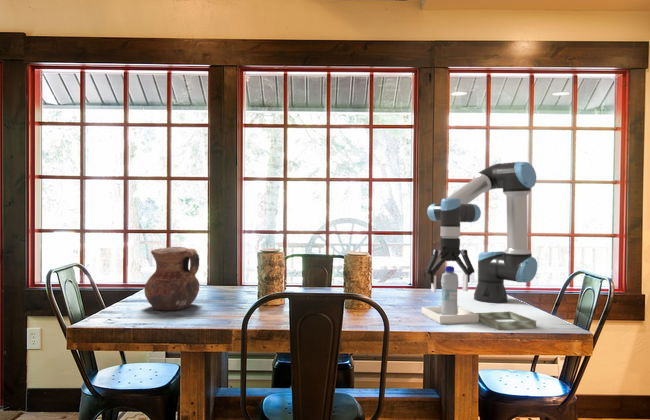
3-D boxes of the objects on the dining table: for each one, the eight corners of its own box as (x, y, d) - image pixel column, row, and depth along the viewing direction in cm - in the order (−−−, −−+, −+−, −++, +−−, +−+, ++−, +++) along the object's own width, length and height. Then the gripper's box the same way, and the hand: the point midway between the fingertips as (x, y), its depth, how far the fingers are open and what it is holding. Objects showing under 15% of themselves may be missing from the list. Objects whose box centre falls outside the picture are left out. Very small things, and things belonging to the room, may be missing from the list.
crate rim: (509, 317, 182) (510, 311, 182) (536, 327, 166) (536, 320, 166) (474, 319, 178) (474, 312, 178) (498, 329, 163) (498, 322, 163)
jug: (139, 313, 180) (140, 250, 180) (148, 303, 201) (149, 246, 201) (197, 311, 185) (198, 250, 185) (200, 301, 205) (201, 246, 205)
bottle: (449, 319, 175) (450, 267, 175) (436, 315, 180) (437, 265, 180) (461, 317, 178) (462, 266, 178) (448, 314, 184) (449, 264, 184)
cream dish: (457, 312, 189) (457, 305, 189) (478, 322, 173) (478, 314, 173) (421, 314, 185) (421, 307, 185) (439, 324, 170) (440, 316, 170)
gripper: (473, 236, 186) (473, 288, 186) (416, 236, 180) (416, 290, 180) (483, 237, 178) (483, 292, 178) (424, 238, 173) (424, 293, 173)
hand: (449, 291), depth 179 cm, fingers open, 13 cm apart
